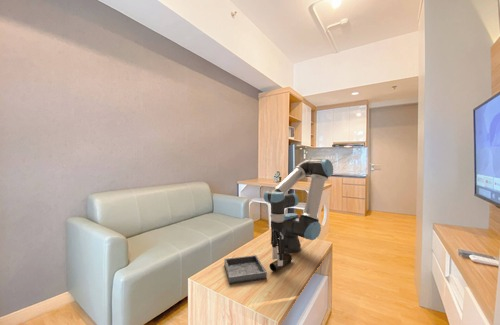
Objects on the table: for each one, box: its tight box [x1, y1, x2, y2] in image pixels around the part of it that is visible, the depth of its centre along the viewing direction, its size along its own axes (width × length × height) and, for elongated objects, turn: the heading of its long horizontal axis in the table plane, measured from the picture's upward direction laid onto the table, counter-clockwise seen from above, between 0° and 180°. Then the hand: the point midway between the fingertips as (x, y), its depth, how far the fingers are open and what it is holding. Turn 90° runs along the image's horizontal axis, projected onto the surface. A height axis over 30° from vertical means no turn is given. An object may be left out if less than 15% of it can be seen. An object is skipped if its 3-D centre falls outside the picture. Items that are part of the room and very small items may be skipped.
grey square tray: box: [223, 254, 268, 286], centre depth 108 cm, size 19×19×4 cm
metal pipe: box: [269, 252, 293, 273], centre depth 114 cm, size 18×7×6 cm, turn 137°
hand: (277, 262), depth 110 cm, fingers open, 7 cm apart
